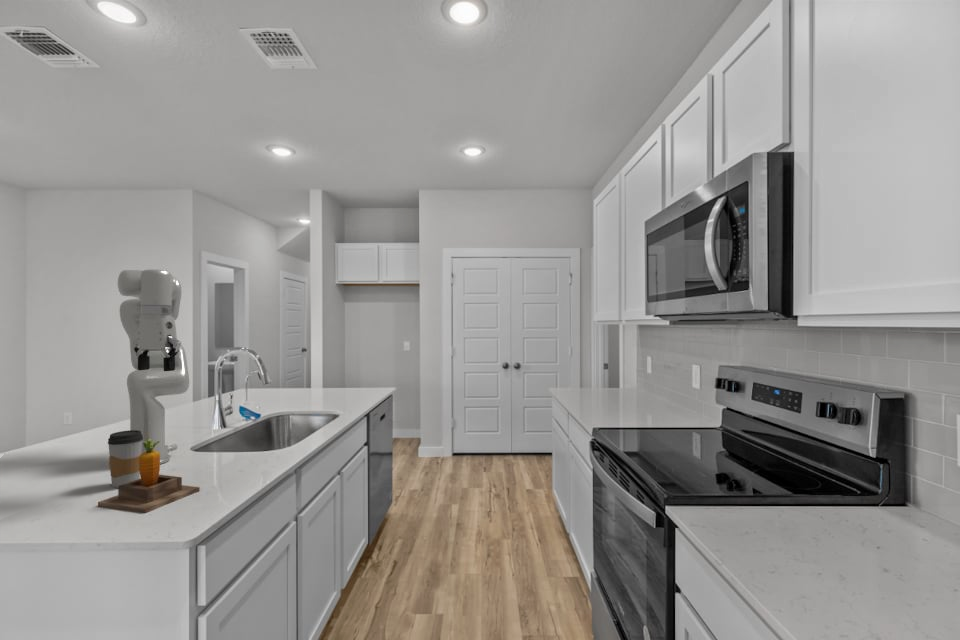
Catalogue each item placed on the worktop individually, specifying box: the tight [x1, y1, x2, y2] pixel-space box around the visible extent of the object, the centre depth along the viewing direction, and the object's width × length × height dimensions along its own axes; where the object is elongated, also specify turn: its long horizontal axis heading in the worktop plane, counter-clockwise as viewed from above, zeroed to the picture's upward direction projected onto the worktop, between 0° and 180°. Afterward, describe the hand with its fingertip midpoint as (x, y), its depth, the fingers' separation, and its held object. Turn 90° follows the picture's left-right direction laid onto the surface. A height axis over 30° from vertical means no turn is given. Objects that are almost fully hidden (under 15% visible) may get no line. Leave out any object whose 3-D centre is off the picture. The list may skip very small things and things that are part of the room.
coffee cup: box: [107, 430, 143, 489], centre depth 138 cm, size 8×8×15 cm
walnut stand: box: [97, 474, 201, 514], centre depth 128 cm, size 16×16×4 cm
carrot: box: [139, 439, 161, 487], centre depth 128 cm, size 5×5×15 cm
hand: (156, 370), depth 139 cm, fingers open, 9 cm apart
